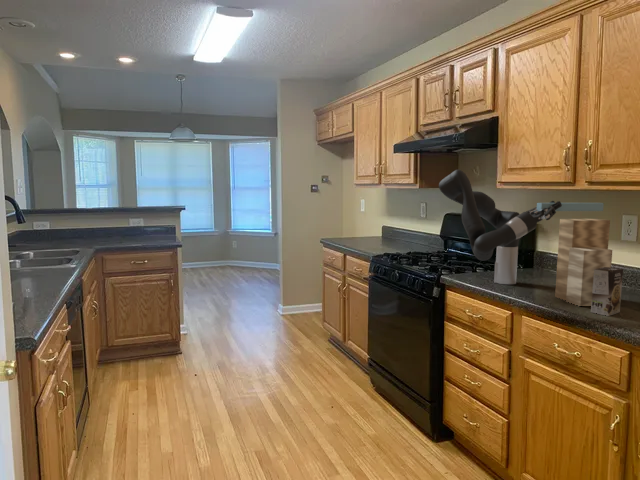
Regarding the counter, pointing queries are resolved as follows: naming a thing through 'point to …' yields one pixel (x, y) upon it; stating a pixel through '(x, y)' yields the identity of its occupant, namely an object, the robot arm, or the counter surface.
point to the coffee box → (607, 291)
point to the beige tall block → (584, 272)
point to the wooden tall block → (577, 244)
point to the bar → (573, 206)
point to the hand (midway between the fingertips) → (557, 203)
